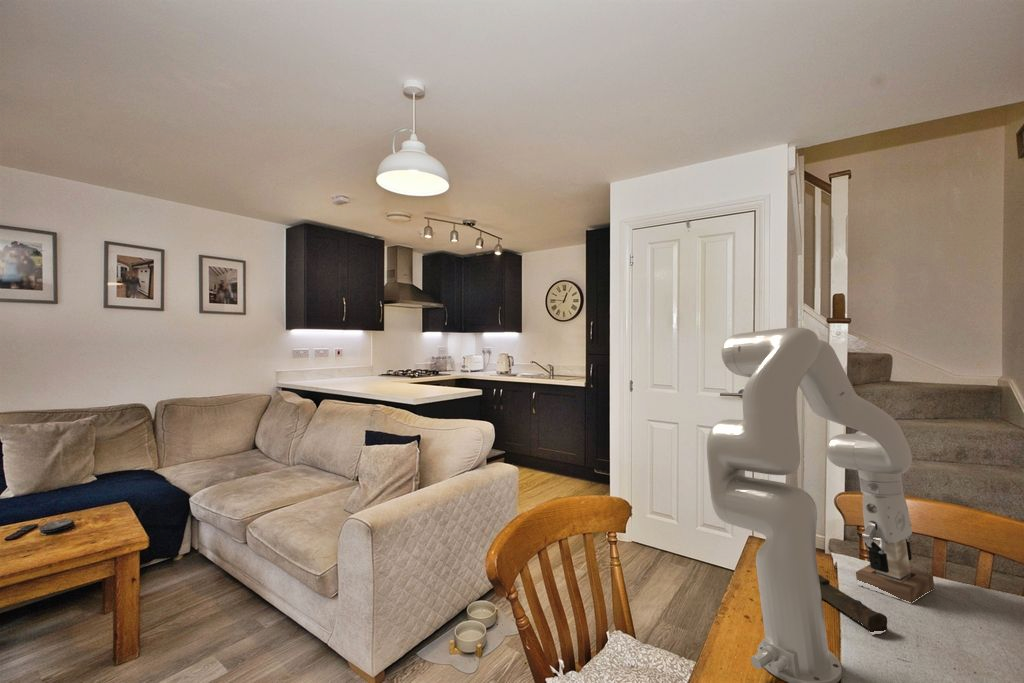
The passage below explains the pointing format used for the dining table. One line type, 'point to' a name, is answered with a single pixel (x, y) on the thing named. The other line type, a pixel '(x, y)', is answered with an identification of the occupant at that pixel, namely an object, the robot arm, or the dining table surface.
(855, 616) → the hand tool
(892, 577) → the peg
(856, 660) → the dining table surface
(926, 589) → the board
